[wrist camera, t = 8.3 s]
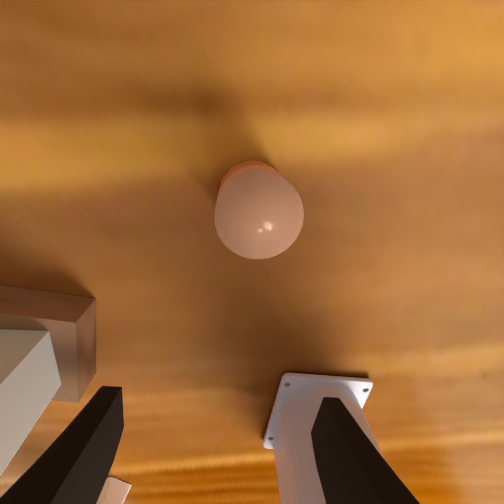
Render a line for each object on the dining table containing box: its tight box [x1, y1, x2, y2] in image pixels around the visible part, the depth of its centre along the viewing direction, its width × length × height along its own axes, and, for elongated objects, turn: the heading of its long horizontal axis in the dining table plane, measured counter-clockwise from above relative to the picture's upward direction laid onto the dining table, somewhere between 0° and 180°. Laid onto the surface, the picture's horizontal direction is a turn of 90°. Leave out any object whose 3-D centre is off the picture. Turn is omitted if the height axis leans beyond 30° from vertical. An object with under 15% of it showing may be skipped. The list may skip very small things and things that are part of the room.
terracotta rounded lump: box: [214, 160, 304, 259], centre depth 14 cm, size 4×4×5 cm
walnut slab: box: [0, 285, 96, 403], centre depth 19 cm, size 7×7×3 cm
